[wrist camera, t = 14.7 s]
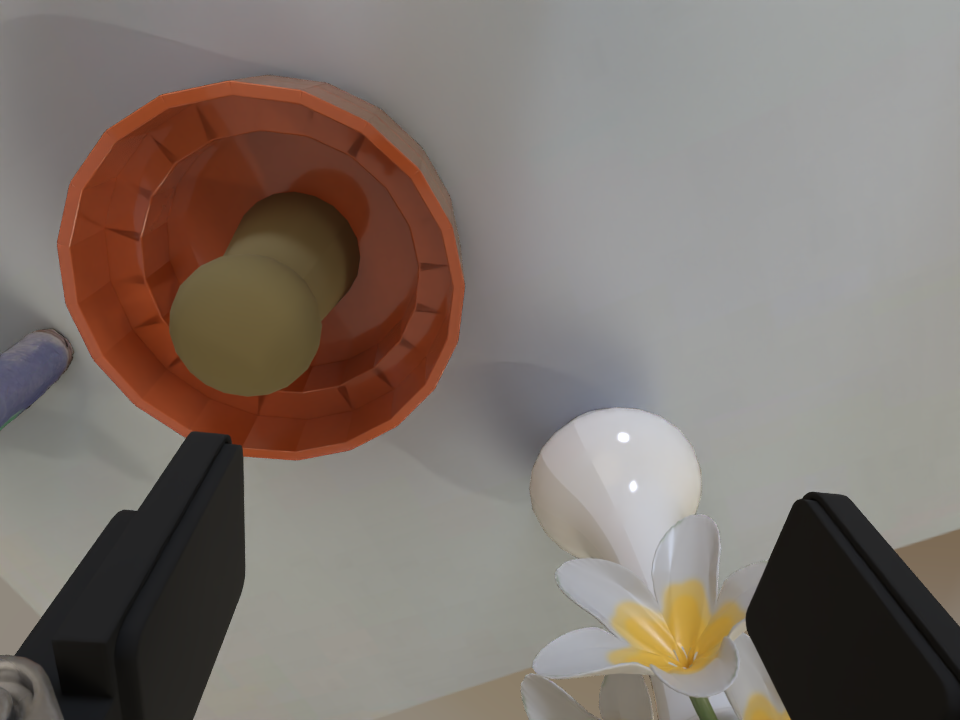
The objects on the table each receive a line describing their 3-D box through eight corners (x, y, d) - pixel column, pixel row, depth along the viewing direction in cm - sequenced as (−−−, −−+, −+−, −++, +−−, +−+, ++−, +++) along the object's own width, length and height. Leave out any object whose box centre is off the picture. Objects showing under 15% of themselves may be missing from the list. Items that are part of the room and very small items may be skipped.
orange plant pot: (112, 52, 28) (28, 53, 23) (477, 102, 30) (486, 114, 24) (144, 379, 35) (85, 445, 29) (441, 404, 37) (442, 471, 31)
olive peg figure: (263, 324, 34) (188, 440, 24) (213, 210, 31) (106, 286, 21) (376, 295, 33) (349, 399, 23) (336, 176, 31) (286, 238, 21)
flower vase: (617, 261, 34) (974, 689, 11) (749, 501, 41) (1128, 1055, 18) (409, 386, 36) (357, 942, 14) (568, 591, 43) (707, 1178, 21)
